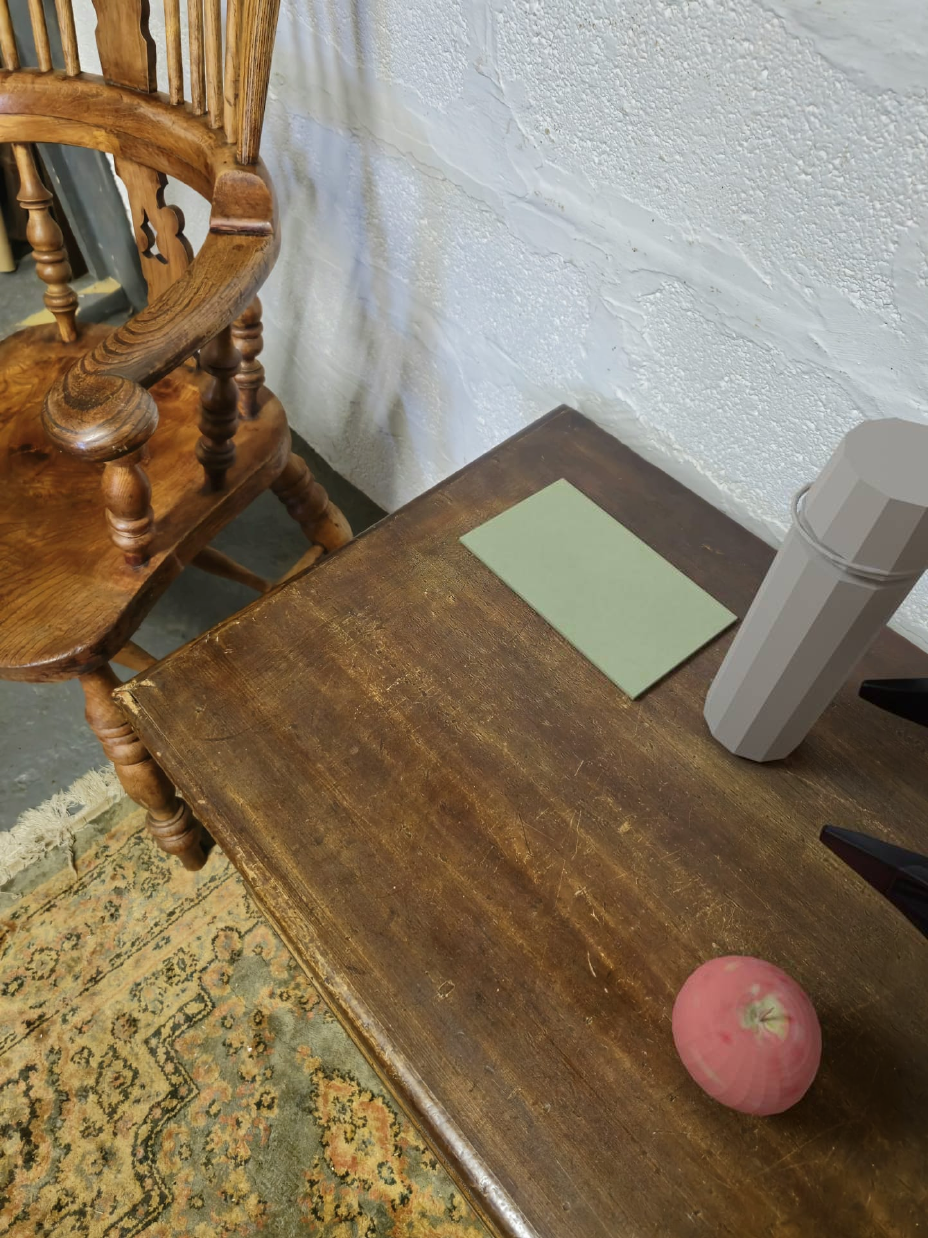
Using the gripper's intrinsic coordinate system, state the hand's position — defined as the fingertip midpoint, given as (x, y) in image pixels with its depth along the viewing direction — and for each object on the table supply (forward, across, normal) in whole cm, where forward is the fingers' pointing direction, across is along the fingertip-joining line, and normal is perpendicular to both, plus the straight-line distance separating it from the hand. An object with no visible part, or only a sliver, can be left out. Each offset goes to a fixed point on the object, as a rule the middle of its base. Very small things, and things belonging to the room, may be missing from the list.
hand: (841, 755), depth 42 cm
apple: (+1, +11, +15) cm, 19 cm away
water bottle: (+6, -12, +14) cm, 20 cm away
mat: (+20, -18, +12) cm, 30 cm away
